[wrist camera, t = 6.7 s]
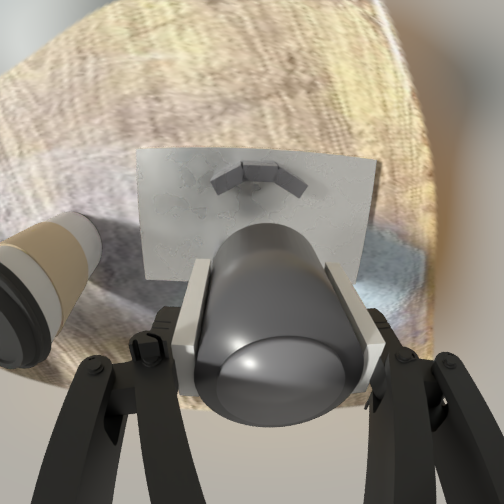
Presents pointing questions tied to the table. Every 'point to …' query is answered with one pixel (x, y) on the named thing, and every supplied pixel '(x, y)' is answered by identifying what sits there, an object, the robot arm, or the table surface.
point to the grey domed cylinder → (273, 332)
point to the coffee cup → (43, 284)
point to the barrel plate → (248, 202)
